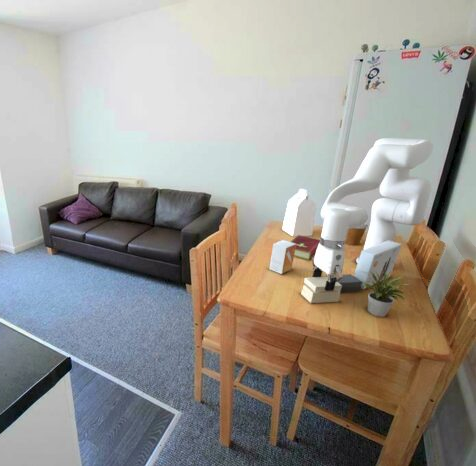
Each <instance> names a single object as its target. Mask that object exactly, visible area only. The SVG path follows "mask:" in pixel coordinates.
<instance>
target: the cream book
mask: <svg viewBox="0 0 476 466" xmlns="http://www.w3.org/2000/svg"><path fill="white" fill-rule="evenodd" d="M326 276H327V275H326ZM326 276H321V277H312V276H311V277H305V278H304V280H303V283H304V285H308V286H309V287H310V288H311V289H312V290H313V291H315V292H322V291H325V285H326V281H328V276H327V277H326ZM341 288H342V285H341V284H339V283H338V282H336V283H335V287H334V290H333V291H340V290H341Z"/></svg>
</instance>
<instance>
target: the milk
mask: <svg viewBox="0 0 476 466" xmlns="http://www.w3.org/2000/svg"><path fill="white" fill-rule="evenodd" d="M309 192H310V191H309V190H308V189H305V188H300V189H299V190H298V192H297V193H296V194H294V195H293V196H292V197H291V198H289V200H288V201H287V204H286V210H285V214H284V219H283V222H282V228H281V230H282V231H283V232H285V233H287V234H288V235H290V236H291V237H296V236H298V235H301V236H306V237H310V236H313V232H314V224H315V217H316V209H317V204H316V202H315V201H314V200H313V199H312V198H311V196H310V193H309Z"/></svg>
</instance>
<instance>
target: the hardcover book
mask: <svg viewBox="0 0 476 466" xmlns="http://www.w3.org/2000/svg"><path fill="white" fill-rule="evenodd" d="M289 242H292V243H295V244H296V248H295V253H294V257H296V258H299V259H303V260H307V261H309V260H310V259H312V257H313V256H314V255H315V253H316V250H317V247H318V245H319V243H320V238H314V237H310V236H301V235H298V236H294V238H293V239H292V240H290V241H289Z"/></svg>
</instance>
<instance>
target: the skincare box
mask: <svg viewBox="0 0 476 466" xmlns="http://www.w3.org/2000/svg"><path fill="white" fill-rule="evenodd" d="M402 246H403V244H402V243H399V242H397V241H390V240H388V241H385V242H383V243H380V244H378V245H375V246H372V247H370V248H367V249H364V248H363V249H364V250H363V249H362V250H361V252H360V255H359V257H360V258H359V261H358V263H357V264H356V268H355V271H354V273H353V276H354V277H356V278H357V279H359V280H360V281H362V283H361V290H366V289H368V288H367V287H364V285H363V284H369V285H370V286H372V287H373V286H374V284H373V283H372V282H373V281H374V283H375V284H376V282H375V280H374V278H373V276H372V274H371V273H372V272H373V273H374V275H375V276H376V278H377V280H379V278H380V281H381V282H383V281H384V275H385V272H386V274H387V275H388V273H390V272H391V273H390V274H389V276H388V278H390V277H391V275H392V272H393V270H394V267H395V264H396V262H397V261H396V259H397V260H398V256H399V254H400V251H401V247H402ZM359 270H360V271H359ZM362 271H364V272H362ZM374 271H375V272H374ZM365 272H366V273H365ZM370 272H371V273H370ZM368 274H369V275H370V276H369V275H368ZM377 274H378V275H379V278H378V275H377ZM370 281H371V282H370Z"/></svg>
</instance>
